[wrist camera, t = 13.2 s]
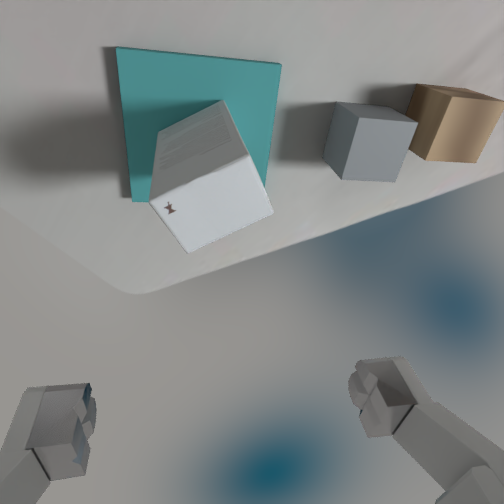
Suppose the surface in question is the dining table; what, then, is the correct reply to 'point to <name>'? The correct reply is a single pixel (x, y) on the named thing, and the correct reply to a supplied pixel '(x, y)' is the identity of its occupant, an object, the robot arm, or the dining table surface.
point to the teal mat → (192, 102)
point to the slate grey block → (367, 142)
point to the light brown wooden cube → (451, 122)
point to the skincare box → (206, 179)
